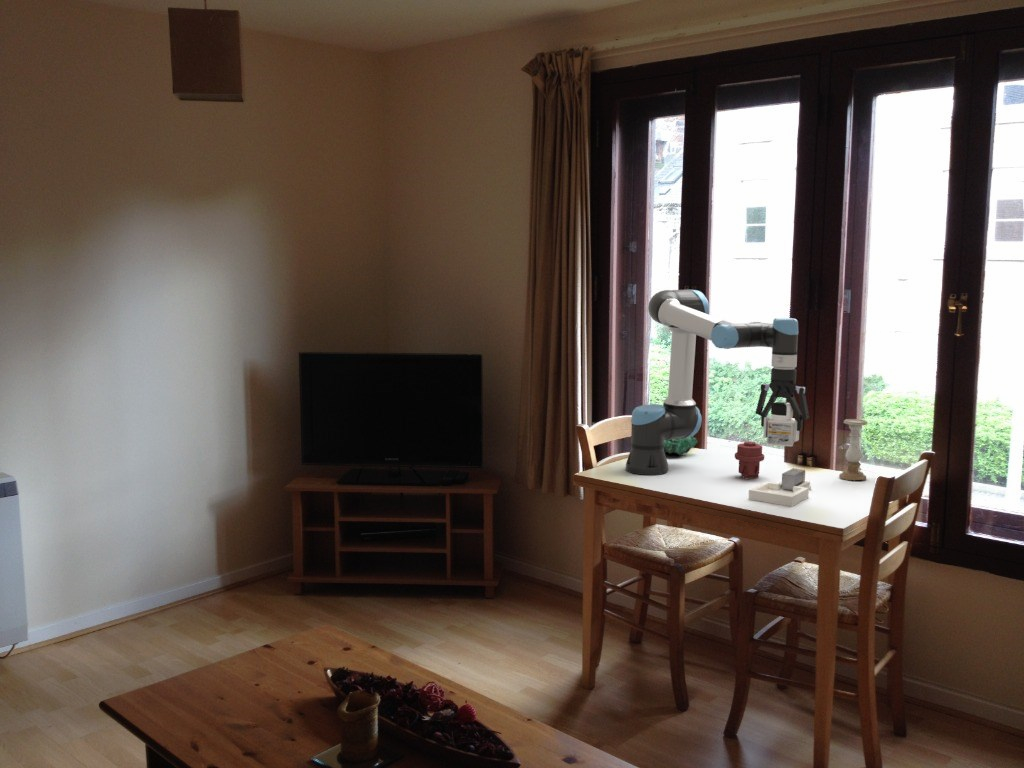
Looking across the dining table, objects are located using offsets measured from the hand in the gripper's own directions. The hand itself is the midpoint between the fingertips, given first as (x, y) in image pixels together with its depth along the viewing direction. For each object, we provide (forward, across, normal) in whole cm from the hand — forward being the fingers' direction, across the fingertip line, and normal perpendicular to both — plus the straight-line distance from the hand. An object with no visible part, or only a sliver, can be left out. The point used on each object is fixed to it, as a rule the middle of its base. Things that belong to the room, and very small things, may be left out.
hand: (780, 438), depth 279 cm
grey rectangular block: (+18, 0, +13) cm, 22 cm away
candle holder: (+19, +10, +42) cm, 47 cm away
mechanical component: (+19, -19, +21) cm, 34 cm away
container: (+2, 0, 0) cm, 2 cm away
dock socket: (+19, 0, +5) cm, 20 cm away
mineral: (+19, -57, +40) cm, 72 cm away
